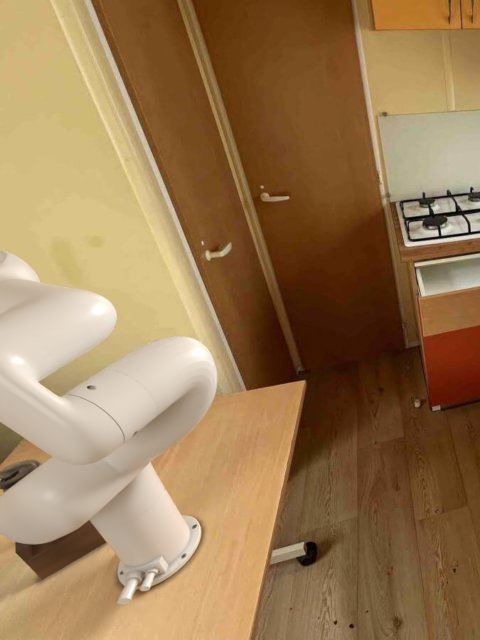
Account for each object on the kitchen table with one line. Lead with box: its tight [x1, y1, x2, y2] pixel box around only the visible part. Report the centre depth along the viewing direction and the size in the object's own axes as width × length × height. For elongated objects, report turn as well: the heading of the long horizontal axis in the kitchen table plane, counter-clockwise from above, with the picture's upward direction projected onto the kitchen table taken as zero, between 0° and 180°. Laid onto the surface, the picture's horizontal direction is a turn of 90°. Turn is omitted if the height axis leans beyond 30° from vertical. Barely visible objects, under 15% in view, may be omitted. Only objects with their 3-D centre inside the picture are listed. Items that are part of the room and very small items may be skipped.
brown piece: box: [14, 520, 107, 581], centre depth 81 cm, size 9×12×9 cm
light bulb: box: [0, 458, 43, 493], centre depth 76 cm, size 6×6×15 cm
